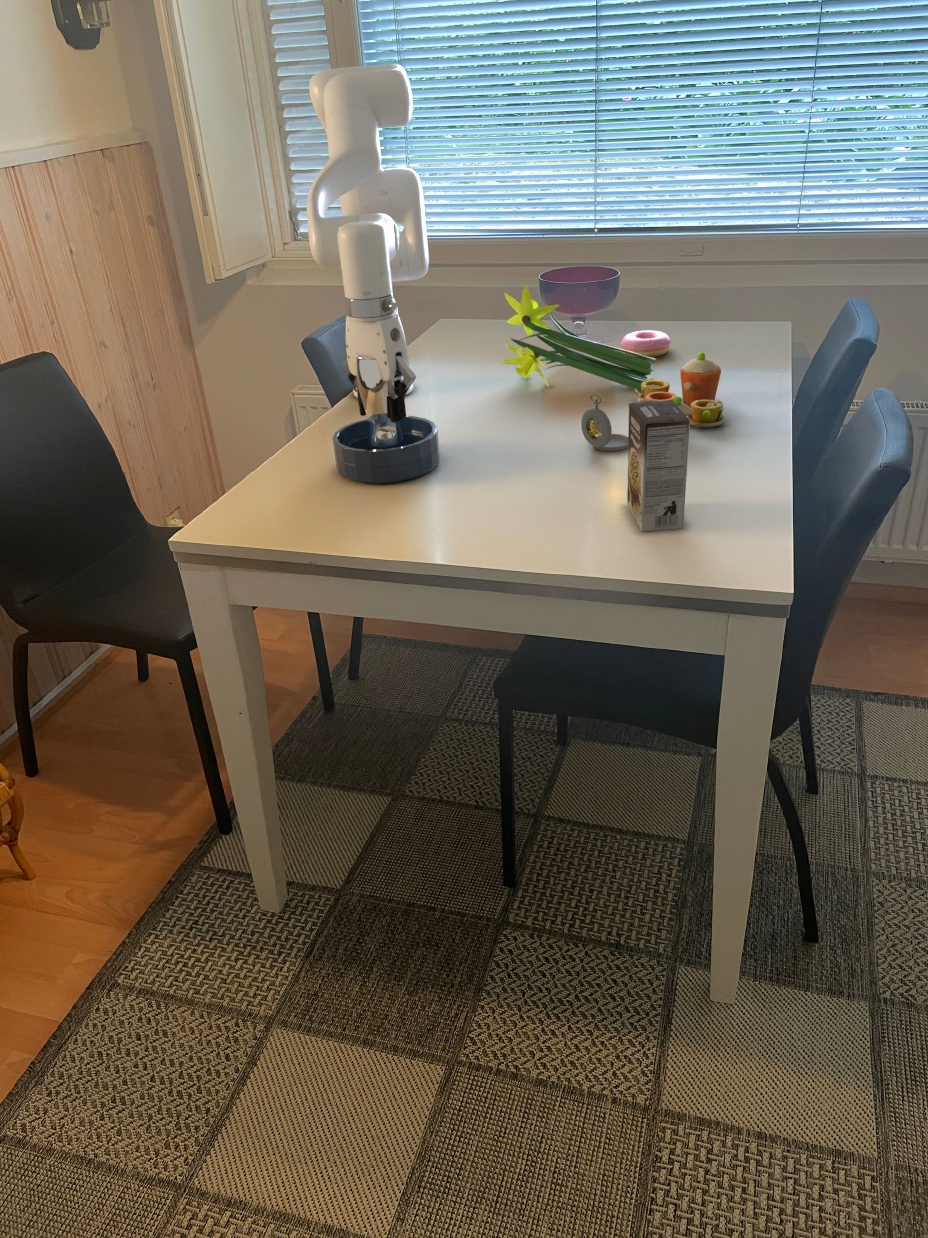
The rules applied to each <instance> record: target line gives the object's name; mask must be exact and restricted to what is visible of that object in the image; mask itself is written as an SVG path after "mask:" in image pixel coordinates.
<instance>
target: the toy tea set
mask: <svg viewBox="0 0 928 1238" xmlns="http://www.w3.org/2000/svg"><path fill="white" fill-rule="evenodd" d="M679 373H680V384H681V394H682V397H680V396H678V395H677V394H676V393H674V392H670V391H669V390H670V386H671V384H670V382H668V381H667V380H662V379H654V378H651V377H650V378H648V379H647V380H648V381H644V382H642V384H641V388H642V391H641V393H640V391H639V390H637V389H634V390H635V393H636V394H637V402H643V401H664V400H672V401H673V402H674V403H675V404H676V405H677V406H678V407H679V409H680V410H681V411H682V412H683V413H684V414H685V415H686V416H687V418H688V419H689V420H690V425H692V426H694V427H699V428H714V427H717V426H718V427H719V426H721V425H723V424H724V423H725V421H726V416H724V415H723V412H724V405H723V402H722V401H721V400H716V396H717V392H718V387H719V382H720V378H721V374H722V368H721V366H719V365H717V364H716V362H714V361H713V360H712V359H709V358H706V354H705V353H704V352H699V353H698V354H697V355H696V358H692V359H690V360H689V361H687V362H686V363H685V364H684V365H683V366H681V368H680V370H679Z"/></svg>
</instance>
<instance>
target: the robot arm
mask: <svg viewBox="0 0 928 1238" xmlns="http://www.w3.org/2000/svg"><path fill="white" fill-rule="evenodd" d="M308 90H309V91H308V93H309V97H310V100H311V104H312V106H313V109H314V111H315V114H316V116H317V119H318V121H319V122H320V124H321V126H322V128H323V130H324V131H325V133H326V139H327V149H328V151H327V152H328V161H327V162H326V163H325V164H324V165H323V166H322V168H321V169H320V170H319V172H318V173H317V175H316V177H315V178H314V180H313V182H312V183H311V186H310V188H309V191H308V196H307V199H306V223H307V230H308V231H307V233H308V243H309V244H308V245H309V249H310V254H311V256H312V258H313V260H314V261H315V263H316V264H317V265H318V266H319V267H322V268H327V269H332V268H333V269H334V268H335V269H336V268H341V275H342V283H343V290H344V291H343V292H344V300H345V308H346V315H345V350H346V351H345V352H346V358H345V360H344V361H343V362H342V365H341V369H342V371H343V372H344V373H345V375H346V376H347V378H348V381H349V382H350V383H351V385H352V386H353V389H352V391H353V396H354V397H356V398H357V402H358V409H359V411H358V412H359V415H360V416H362V417H365V416H366V413H365V409H364V406H363V403H362V400H361V397H360V393H359V389H358V383H357V374H356V357H355V355H357V356H359V357H363V358H376V362H377V366H378V369H379V372H380V375H381V378H382V380H383V381H385V382H387V386H388V391H389V393H390V396H391V398H390V399H389V400H388V402H389V411H390V420H391V422H394V423H395V422H397V421H400V420H402V419H404V418H406V416H407V411H406V402H405V396H406V395H409V394H410V393H411V392H412V391H413V390H414V384H413V383H415V380H416V379H417V375H416V373H415V372H414V371H413V369H411V367H410V358H409V351H408V346H407V340H406V334H405V330H404V328H403V324H402V321H401V318H400V315H399V310H398V309H399V308H398V304H397V302H396V300H395V298H394V291H393V282H402V281H403V282H405V281H415V280H419V279H420V280H421V279H422V278H424V277H425V276H426V275H427V273H428V271H429V267H430V265H429V264H430V255H429V243H428V232H427V222H426V211H425V200H424V199H425V198H424V191H423V186H422V181H421V179H420V177H419V175H418V173H417V172H416V171H415V170H414V169H412V168H410V167H392V168H391V167H390V168H383V167H382V153H381V152H382V151H381V144H380V135H379V129H386V128H398V127H404V126H407V125H408V124H409V123H410V122H411V119H412V116H413V93H412V88H411V84H410V80H409V78H408V76H407V72H406V70H405V69H404V67H402V66H401V65H400V64H396V63H393V64H377V65H363V66H362V65H361V66H348V67H337V68H330V69H324V70H321V71H318V72H315V74H313V75H312V77H311V78H310V80H309V84H308ZM337 200H339V205H340V210H341V213H342V215H337V216H327V217H325V215H326V212H327V211H328V209H329V207H330V206H331V205H332V204H333V203H334V202H335V201H337ZM397 224H400V225H401V226H402V227H403V228H399V227H398V225H397ZM395 371H396V372H397V376H396V377H394V373H395ZM394 381H397V385H398V386H397V388H396V389H395V386H394V384H393V382H394Z"/></svg>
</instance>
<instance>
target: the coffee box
mask: <svg viewBox="0 0 928 1238" xmlns="http://www.w3.org/2000/svg"><path fill="white" fill-rule="evenodd" d="M687 417H688V416H686V415H685V414H684V413H683V412H682V411H681V410H680V409H679V407H678V406H677V405H676V404H675V403H674V402H673V401H672V400H664V401H643V402H638V401H635V402H629V403H628V433H627V434H628V436H627V437H628V447H627V491H626V493H627V502H626V503H627V504H626V507H627V509H628V510H629V512H630V515H631V516H632V518H633V519H634V522H635V523H636V525H637V526H638V528H639V530H640V532H642V533H643V532H654V531H666V530H676V529H683V528H684V519H685V503H686V492H687V491H686V490H687V489H686V487H687V475H688V462H689V461H688V460H689V459H688V458H689V443H690V427H691V426H690V425H691V424H690V420H689V419H688V418H687Z"/></svg>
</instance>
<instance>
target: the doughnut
mask: <svg viewBox="0 0 928 1238" xmlns="http://www.w3.org/2000/svg"><path fill="white" fill-rule="evenodd" d="M671 344H672V341H671V339H670V336H669V335H668V334H666V333H665V332H663V331H658V330H655V329H654V330H647V329H646V330H637V331H633V332H630V333H628V334H626V335H625V336H624V337H623V338H622V339H621V343H620V345H621V349H623V350H627V351H630V352H634V353H637V354H640V355H644V356H647V357H650V358H655V357H659V356H663V355H664V354H666V353H667V352H668V351H669V350H670V347H671ZM625 354H627V355H630V356H633V357H636V358H639V357H638V356H635V355H632V354H628V353H625Z"/></svg>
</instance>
